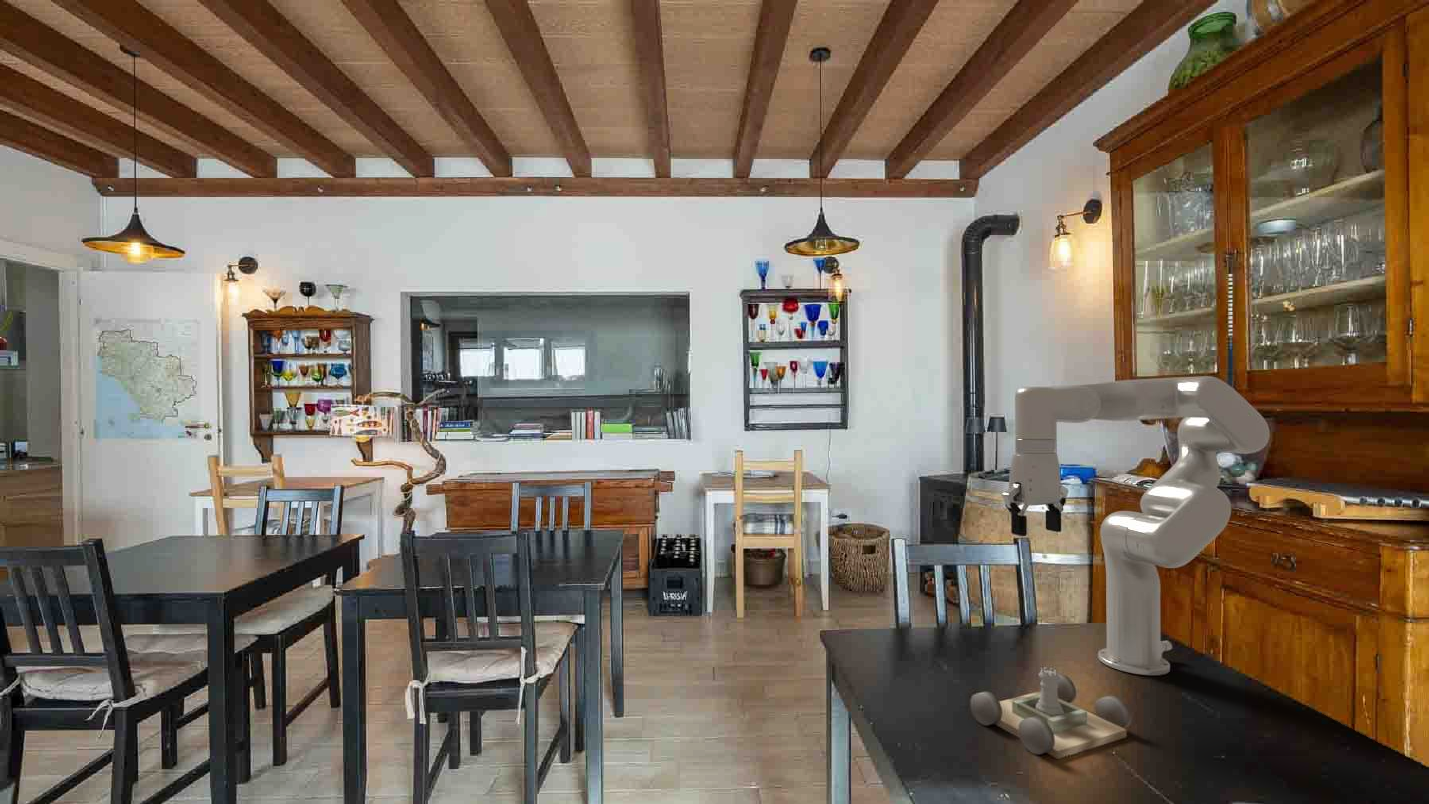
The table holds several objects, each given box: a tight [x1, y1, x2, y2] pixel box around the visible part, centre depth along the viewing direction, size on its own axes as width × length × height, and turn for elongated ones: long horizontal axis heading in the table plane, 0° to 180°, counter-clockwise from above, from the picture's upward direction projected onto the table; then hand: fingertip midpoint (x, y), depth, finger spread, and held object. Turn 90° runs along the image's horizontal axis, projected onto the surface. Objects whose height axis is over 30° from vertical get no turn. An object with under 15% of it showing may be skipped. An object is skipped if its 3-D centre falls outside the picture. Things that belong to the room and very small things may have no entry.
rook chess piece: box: [1035, 666, 1064, 717], centre depth 111 cm, size 4×4×8 cm
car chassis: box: [969, 673, 1132, 760], centre depth 111 cm, size 20×16×5 cm
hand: (1036, 532), depth 132 cm, fingers open, 9 cm apart
